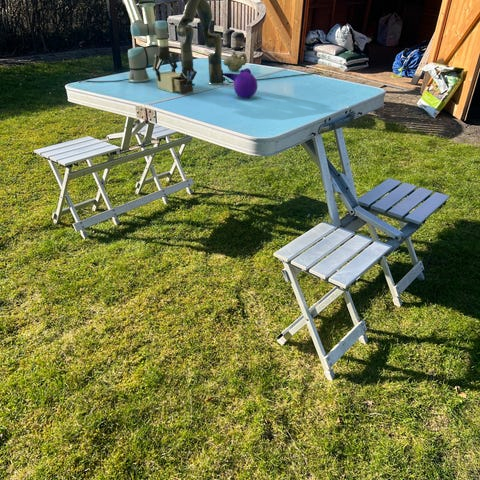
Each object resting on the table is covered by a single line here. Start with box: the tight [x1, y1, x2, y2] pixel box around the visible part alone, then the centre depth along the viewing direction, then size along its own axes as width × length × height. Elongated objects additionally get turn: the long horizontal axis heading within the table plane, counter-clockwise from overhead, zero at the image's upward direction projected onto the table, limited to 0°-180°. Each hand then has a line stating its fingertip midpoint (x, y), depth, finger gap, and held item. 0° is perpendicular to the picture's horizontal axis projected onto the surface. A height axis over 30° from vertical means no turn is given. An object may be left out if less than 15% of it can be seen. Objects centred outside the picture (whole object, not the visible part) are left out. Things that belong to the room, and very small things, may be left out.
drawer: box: [172, 77, 196, 94], centre depth 301 cm, size 24×10×8 cm, turn 38°
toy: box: [222, 67, 258, 99], centre depth 286 cm, size 16×18×27 cm
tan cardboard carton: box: [156, 70, 185, 93], centre depth 310 cm, size 20×11×10 cm, turn 38°
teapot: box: [222, 51, 248, 73], centre depth 364 cm, size 21×12×15 cm, turn 120°
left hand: (166, 79), depth 315 cm, fingers closed on tan cardboard carton, 11 cm apart
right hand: (188, 87), depth 295 cm, fingers closed
